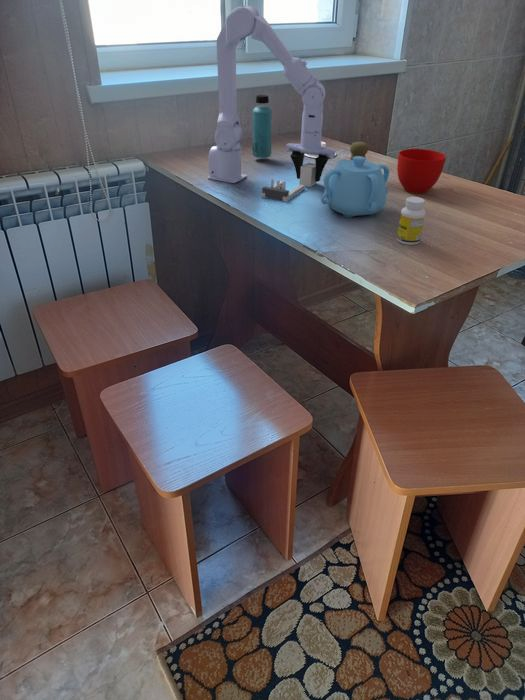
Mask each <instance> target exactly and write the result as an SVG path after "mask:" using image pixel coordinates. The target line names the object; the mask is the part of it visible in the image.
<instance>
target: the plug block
mask: <svg viewBox="0 0 525 700" xmlns="http://www.w3.org/2000/svg"><path fill="white" fill-rule="evenodd" d="M315 175H316V163H314V162H306V163H303V166H301V171H300V179H299V185H304V187H305V186H308V187H307V188H312V187H313V186H315V185H316V184H317V182H315ZM315 183H316V184H315ZM314 184H315V185H314ZM312 185H313V186H312ZM311 186H312V187H311Z"/></svg>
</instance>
